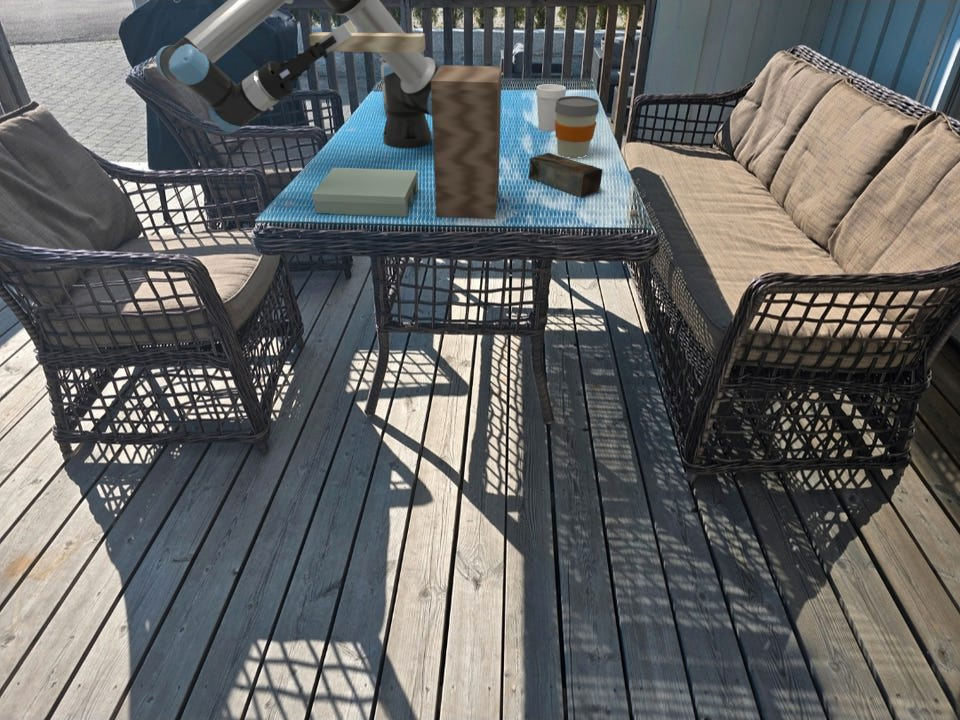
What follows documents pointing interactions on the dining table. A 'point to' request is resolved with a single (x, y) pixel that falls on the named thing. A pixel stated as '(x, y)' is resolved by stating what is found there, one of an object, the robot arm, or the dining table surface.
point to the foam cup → (548, 104)
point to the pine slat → (377, 42)
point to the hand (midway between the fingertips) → (350, 27)
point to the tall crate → (466, 140)
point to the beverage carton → (565, 174)
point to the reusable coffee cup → (575, 124)
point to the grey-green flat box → (366, 192)
